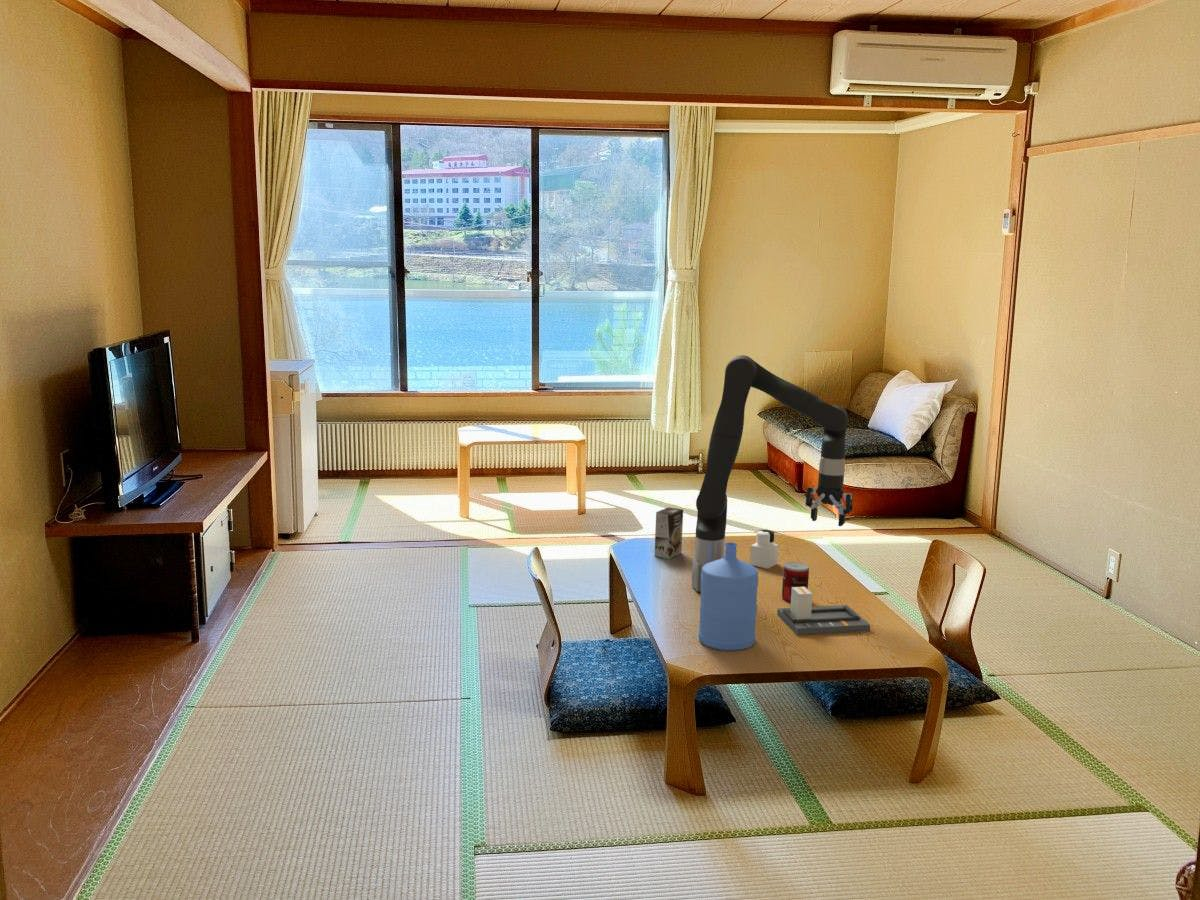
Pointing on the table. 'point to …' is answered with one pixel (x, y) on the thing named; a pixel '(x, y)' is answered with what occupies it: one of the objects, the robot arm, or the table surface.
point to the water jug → (728, 602)
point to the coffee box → (668, 532)
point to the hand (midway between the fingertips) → (827, 523)
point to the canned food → (794, 578)
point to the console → (825, 620)
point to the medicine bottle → (764, 550)
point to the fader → (801, 603)
